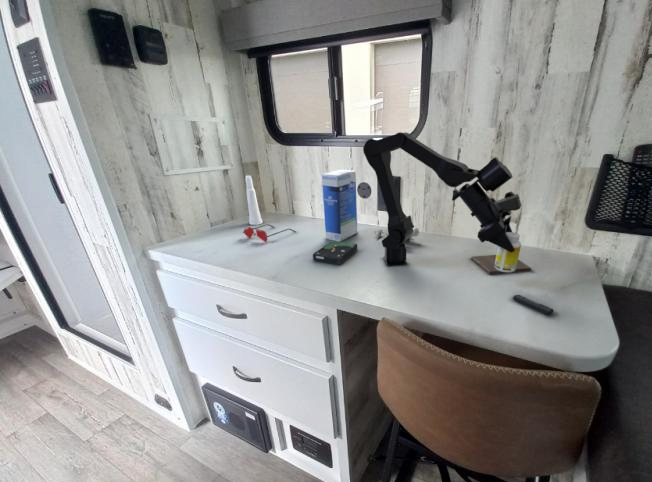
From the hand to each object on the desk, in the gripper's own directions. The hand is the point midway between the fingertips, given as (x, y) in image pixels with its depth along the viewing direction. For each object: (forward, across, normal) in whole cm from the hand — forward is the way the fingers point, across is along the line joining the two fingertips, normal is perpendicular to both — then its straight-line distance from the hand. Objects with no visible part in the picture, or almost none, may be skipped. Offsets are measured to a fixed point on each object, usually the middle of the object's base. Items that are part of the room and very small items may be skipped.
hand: (514, 247), depth 83 cm
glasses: (-57, +1, +75) cm, 94 cm away
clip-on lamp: (-22, +19, +39) cm, 49 cm away
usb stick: (+13, -10, +3) cm, 17 cm away
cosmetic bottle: (-71, +11, +89) cm, 114 cm away
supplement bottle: (+4, 0, +6) cm, 7 cm away
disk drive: (-31, -5, +48) cm, 57 cm away
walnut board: (+5, +14, +11) cm, 18 cm away
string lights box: (-38, +14, +55) cm, 68 cm away
